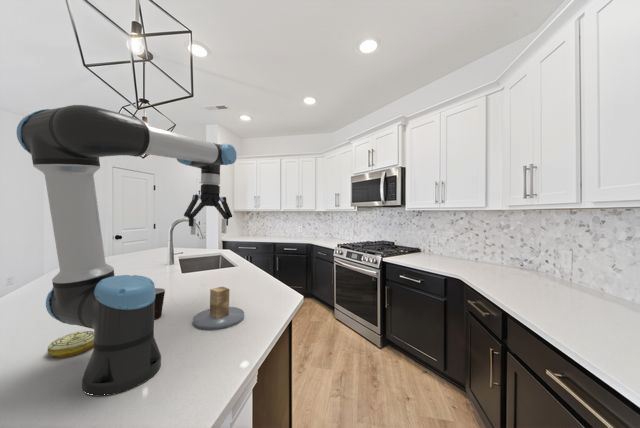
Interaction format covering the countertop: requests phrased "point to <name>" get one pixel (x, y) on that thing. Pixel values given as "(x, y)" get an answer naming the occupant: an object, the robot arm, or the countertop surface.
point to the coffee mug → (159, 302)
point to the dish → (210, 323)
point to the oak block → (219, 302)
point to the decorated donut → (71, 344)
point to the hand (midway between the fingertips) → (209, 233)
